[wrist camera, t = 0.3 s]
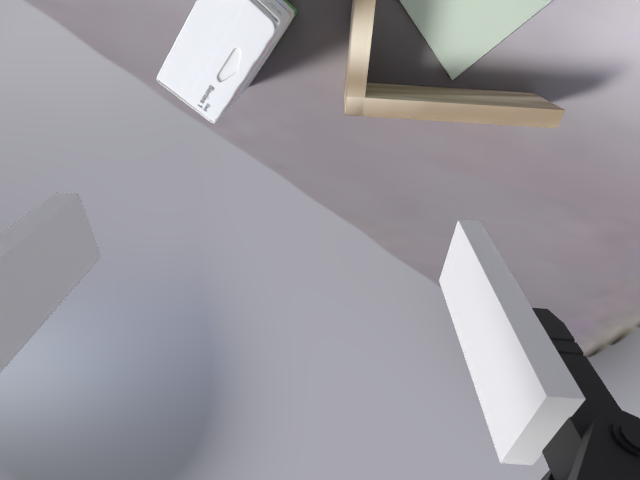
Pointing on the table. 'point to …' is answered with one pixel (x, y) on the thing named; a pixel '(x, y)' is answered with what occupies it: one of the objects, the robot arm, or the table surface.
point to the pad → (467, 26)
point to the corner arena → (432, 91)
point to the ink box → (223, 51)
